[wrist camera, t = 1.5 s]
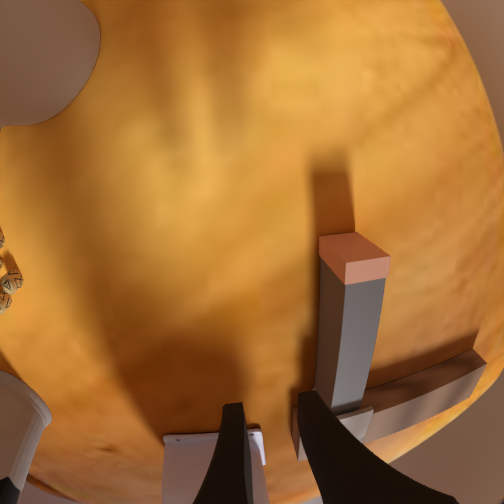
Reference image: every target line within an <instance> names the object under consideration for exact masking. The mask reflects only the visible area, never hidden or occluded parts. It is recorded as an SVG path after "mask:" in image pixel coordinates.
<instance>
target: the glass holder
mask: <svg viewBox="0 0 504 504" xmlns="http://www.w3.org/2000/svg"><path fill="white" fill-rule="evenodd" d="M51 421H52V416H51V413H50V410H49V408H48V407H47V405H46V404H45V403H44V401H43V400H42V399H41V398H40V397H39V396H38V395H37V394H36V393H35V392H34V391H33V390H32V389H31V388H30V387H29V386H28V385H26V384H25V383H24V382H22V381H21V380H19V379H18V378H16V377H15V376H13V375H11V374H9V373H7V372H5V371H1V370H0V504H19V501H20V495H21V490H23V486H24V483H25V480H26V477H27V474H28V471H29V468H30V465H31V462H32V459H33V456H34V453H35V451H36V448H37V445H38V443H39V440H40V437H41V435H42V432H43V430H44V428H45V427H46V426H47V425H49V424H50V423H51Z"/></svg>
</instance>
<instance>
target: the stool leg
mask: <svg viewBox="0 0 504 504" xmlns="http://www.w3.org/2000/svg"><path fill="white" fill-rule="evenodd" d="M319 255H320V303H319V327H318V346H317V361H316V375H315V386H314V387H313V388H312V390H315V391H317V392H318V394H319V395H320V397H321V398H322V399H323V401H324V402H325V403H326V405H327V406H328V407H329V409H330V410H331V411H332V412H333V413H334V415H335V416H339V415H343V414H347V413H350V412H354V411H357V410H359V409H360V405H361V401H362V398H363V394H364V390H365V386H366V382H367V378H368V374H369V370H370V365H371V361H372V356H373V352H374V347H375V342H376V337H377V331H378V326H379V320H380V314H381V308H382V301H383V294H384V287H385V279H386V278H387V277H388V275H389V267H390V258H391V256H390V255H388V254H387V253H386V252H384V251H383V250H382V249H380V248H379V247H377V246H376V245H375V244H373V243H372V242H371V241H369V240H368V239H366V238H365V237H363V236H362V235H361V234H359V233H358V232H353V233H345V234H336V235H327V236H319ZM312 390H311V391H312Z"/></svg>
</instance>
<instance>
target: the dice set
mask: <svg viewBox="0 0 504 504" xmlns="http://www.w3.org/2000/svg"><path fill="white" fill-rule="evenodd" d="M4 242H5V239H4V235H3V233H2V232H1V231H0V249H1V248H2V247H3V246H4ZM3 263H4V261H3V260H2V259H1V258H0V270H1V267H2V265H3ZM22 284H23V277H22V275H21V273H20V272H19V271H18V270H17V269H11V270H10V271H9V272H7V273H6V274H5V275H4V276H3V277H2V278H1V283H0V285H2V288H3V290H0V314H3V313H4V312H5V311H6V310H7V309H8V308H9V307H10V306H11V303H12V299H11V296H10V294H14V293H15V292H16V291H17V290H18V289H19V288H20V287H21V286H22Z"/></svg>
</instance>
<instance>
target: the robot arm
mask: <svg viewBox="0 0 504 504" xmlns="http://www.w3.org/2000/svg"><path fill="white" fill-rule="evenodd" d="M297 425H298V429H299V433H300V437H301V441H302V445H303V448H304V451H305V454H306V456H307V459H308V462H309V464H310V467H311V469H312V472H313V475H314V477H315V480H316V482H317V485H318V488H319V490H320V493H321V496H322V500H323V504H459V503H458V502H457V501H456V499H455V498H454V497H453V496H450V495H447V494H444V493H441V492H439V491H436V490H434V489H431V488H429V487H427V486H425V485H422V484H420V483H418V482H417V481H414V480H413V479H411V478H409V477H408V476H406V475H404V474H402V473H400V472H399V471H397V470H396V469H394V468H392V467H391V466H390V465H388V464H387V463H385V462H384V461H383V460H381V459H380V458H379V457H377V456H376V455H375V454H374V453H373V452H371V451H370V450H369V449H368V448H367V447H366V446H364V445H363V444H362V443H361V442H360V441H359V440H358V439H357V438H356V437H355V436H354V435H353V434H352V433H351V432H350V431H349V430H348V429H347V428H346V427H345V426H344V425H343V424H342V423H341V422H340V420H339V419H338V418H337V417H336V416H335V415H334V413H333V412H332V411H331V410H330V409H329V407H328V406H327V405H326V403H325V402H324V401H323V399H322V398H321V397H320V395H319V394H318V392H317V391H315V390H312V391H308V392H303V393H298V417H297ZM163 441H164V443H165V448H164V461H163V475H162V502H163V504H270V502H269V497H268V491H267V486H266V481H265V475H264V470H263V465H265V464H266V462H265V454H264V446H263V438H262V431H261V429H258V428H257V429H248V430H247V426H246V420H245V415H244V409H243V404H242V402H240V403H231V404H225V405H224V406H223V413H222V421H221V426H220V431H219V433H207V434H188V435H165V436H163ZM494 504H504V496H502V497H501V498H500V499H499V500H497V501H496V502H495V503H494Z"/></svg>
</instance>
